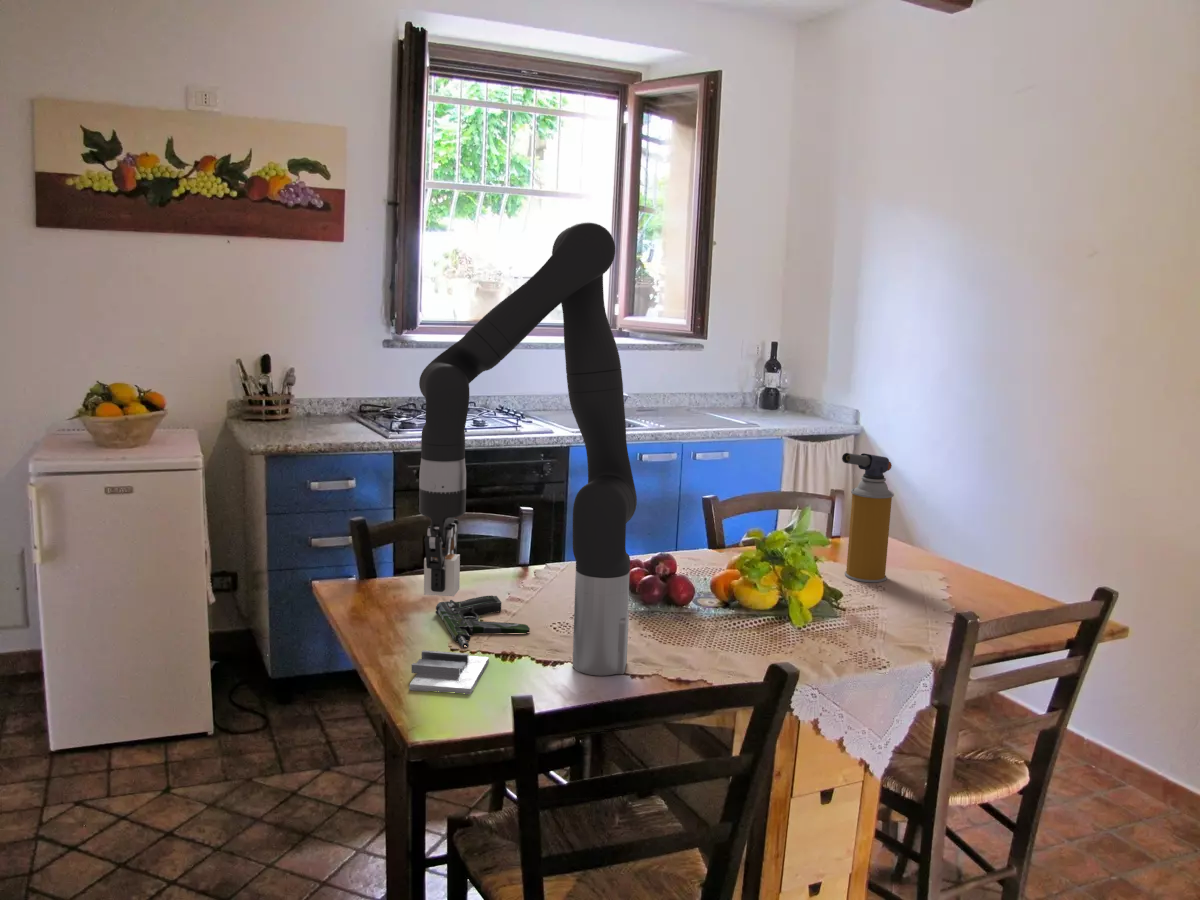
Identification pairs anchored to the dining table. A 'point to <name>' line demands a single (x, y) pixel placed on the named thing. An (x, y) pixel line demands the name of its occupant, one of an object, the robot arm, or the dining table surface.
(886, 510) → the blowtorch
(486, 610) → the pistol
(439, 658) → the rail panel
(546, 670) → the dining table surface
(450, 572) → the block
